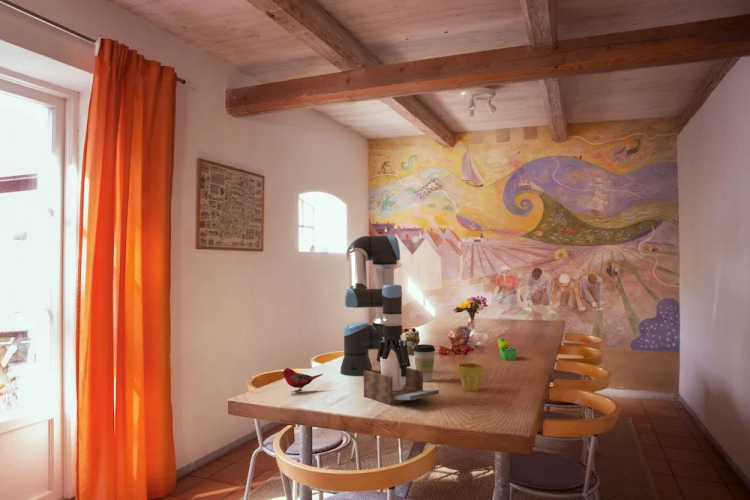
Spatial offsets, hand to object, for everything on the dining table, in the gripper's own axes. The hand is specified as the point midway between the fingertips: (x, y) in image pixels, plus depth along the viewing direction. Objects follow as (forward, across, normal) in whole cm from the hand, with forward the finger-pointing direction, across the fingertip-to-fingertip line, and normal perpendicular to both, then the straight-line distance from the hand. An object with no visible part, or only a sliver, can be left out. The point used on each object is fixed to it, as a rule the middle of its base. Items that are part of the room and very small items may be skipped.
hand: (393, 382), depth 198 cm
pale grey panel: (+3, +8, 0) cm, 9 cm away
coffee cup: (+6, -13, +29) cm, 32 cm away
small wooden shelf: (+6, 0, 0) cm, 6 cm away
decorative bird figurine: (+6, -31, -22) cm, 38 cm away
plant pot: (+6, +11, +32) cm, 34 cm away
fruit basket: (+6, -21, +97) cm, 99 cm away
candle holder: (+3, 0, 0) cm, 3 cm away
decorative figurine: (+6, -64, +68) cm, 94 cm away
